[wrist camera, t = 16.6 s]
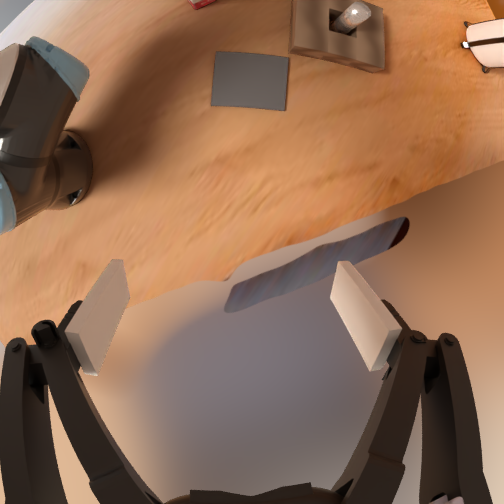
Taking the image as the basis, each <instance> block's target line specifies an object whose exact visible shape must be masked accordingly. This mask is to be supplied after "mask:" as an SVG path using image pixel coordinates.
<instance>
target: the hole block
mask: <svg viewBox="0 0 504 504" xmlns="http://www.w3.org/2000/svg"><path fill="white" fill-rule="evenodd" d="M354 2H361V3H363V4H365V5H366V6H368V8H369V9H370V11H371V16H370V17H369V18H368V19H366V20H365V21H363V22H362V23H361V24H359V25H358V26H357V27H355V28H354V29H353V30H351V31H350V32H349V33H347V35H344V34H341V33H337V32H333V31H329V19H330V20H334V21H335V20H336V19H337V18H338V17H339V16H340V15H341V14H342V13H343V12H344V11H345V10H346V9H347V8H348V7H350V6H351V5H352V4H353V3H354ZM289 54H295V55H301V56H307V57H312V58H317V59H322V60H326V61H330V62H335V63H339V64H343V65H346V66H350V67H354V68H357V69H361V70H364V71H367V72H370V73H374V72H377V71H380V70H383V69H384V67H385V49H384V21H383V8H380V7H378V6H375V5H373V4H370V3H367V2H364V1H362V0H292V6H291V23H290V39H289Z"/></svg>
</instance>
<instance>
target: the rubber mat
mask: <svg viewBox="0 0 504 504" xmlns="http://www.w3.org/2000/svg"><path fill="white" fill-rule="evenodd" d="M288 59H289V58H288V57H281V56H273V55H264V54H254V53H241V52H216V57H215V67H214V76H213V87H212V98H211V106H230V107H247V108H259V109H270V110H279V111H284V110H285V98H286V86H287V73H288Z"/></svg>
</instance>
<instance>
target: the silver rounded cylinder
mask: <svg viewBox="0 0 504 504" xmlns="http://www.w3.org/2000/svg"><path fill="white" fill-rule="evenodd" d="M370 16H371V11H370V9H369V8H368V6H366V5H365V4H363V3H361V2H354V3H353V4H352V5H351V6H350V7H348V8H347V9H346V10H345V11H344V12H343V13H342V14H341V15H340V16H339V17H338V18H337V19H336V20H335V21H334V22H333V23H332V24H331V25H330V26H329V31H333V32H337V33H341V34H344V35H346V34H347V33H349V32H350V31H351V30H353V29H354V28H355V27H357V26H358V25H359V24H361V23H362V22H363V21H365V20H366V19H368V18H369V17H370Z"/></svg>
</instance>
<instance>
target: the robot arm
mask: <svg viewBox="0 0 504 504" xmlns="http://www.w3.org/2000/svg"><path fill="white" fill-rule="evenodd" d="M88 79H89V69H88V67H87V66H86V65H85V64H84V63H82V62H81V61H80V60H78V59H77V58H75V57H74V56H72V55H71V54H69V53H67V52H66V51H64V50H62V49H60V48H59V47H57V46H54V45H53V44H51V43H49V42H47V41H45V40H43V39H41V38H38V37H31V38H30V39H29V40H28V41H27V42H26V44H25V46H24V45H20V44H17V43H14V44H12V45H10V46H8V47H7V48H5V49H3V50H2V51H0V235H1V234H3V233H5V232H8V231H11V230H13V229H14V228H15V227H17V226H18V225H20V224H22V223H23V222H25V221H26V220H28V219H30V218H31V217H33V216H35V215H36V214H38V213H40V212H42V211H43V210H63V209H66V208H69V207H71V206H72V205H74V204H76V203H77V202H79V201H80V200H81V199H82V198H83V196H84V195H85V194H86V192H87V190H88V188H89V185H90V182H91V178H92V168H93V167H92V158H91V154H90V151H89V148H88V146H87V144H86V143H85V141H84V140H83V139H82V138H81V137H80V136H79V135H77V134H75V133H73V132H70V131H63V129H64V127H65V125H66V123H67V120H68V118H69V116H70V114H71V112H72V110H73V108H74V106H75V104H76V102H78V101H79V100H80V95H81V93H82V91H83V89H84V87H85V85H86V83H87V81H88ZM129 299H130V294H129V289H128V284H127V279H126V273H125V268H124V262H123V260H120V259H112V260H111V261H110V263H109V264H108V266H107V267H106V268H105V270H104V271H103V273H102V274H101V275H100V277H99V278H98V280H97V281H96V283H95V284H94V286H93V287H92V289H91V290H90V291H89V293H88V294H87V296H86V298H85V299H84V301H80V300H78V301H77V302H76V303H74V304H73V305H72V306H71V307H70V309H69V310H68V313H66V315H65V316H64V318H63V320H62V321H61V323H60V324H59V326H58V327H57V328H56V325H55V323H54V322H53V321H51V320H43V321H40V322H38V323H37V324H35V325H34V326H33V328H32V331H31V334H32V336H33V338H34V340H35V342H36V345H27V343H26V341H25V340H24V339H23V338H14V339H12V340H11V341H10V342H9V343H8V344H7V346H6V349H5V355H4V361H3V368H2V376H1V385H0V465H1V473H2V481H3V486H4V493H5V504H68V502H67V499H66V496H65V492H64V489H63V485H62V481H61V477H60V474H59V469H58V464H57V460H56V455H55V449H54V443H53V437H52V429H51V421H50V413H49V412H50V411H49V399H48V385H49V389H50V392H51V395H52V397H53V400H54V403H55V406H56V408H57V411H58V414H59V417H60V419H61V421H62V424H63V426H64V429H65V431H66V433H67V435H68V438H69V440H70V442H71V444H72V447H73V448H74V451H75V453H76V455H77V457H78V459H79V461H80V462H81V464H82V466H83V468H84V470H85V472H86V473H87V475H88V477H89V479H90V482H89V485H90V488H91V490H92V492H93V493H94V495H95V496H96V498H97V500H98V501H99V503H100V504H163V503H162V502H161V500H160V499H159V498H158V497H157V496H156V495H155V494H154V493H153V492H152V491H151V490H150V488H149V487H148V486H147V485H146V484H145V482H144V481H143V480H142V479H141V477H140V476H139V475H138V474H137V472H136V471H135V470H134V468H133V467H132V465H131V464H130V463H129V461H128V460H127V458H126V457H125V455H124V454H123V453H122V451H121V449H120V448H119V446H118V445H117V443H116V442H115V440H114V438H113V437H112V435H111V434H110V432H109V430H108V429H107V427H106V425H105V423H104V422H103V420H102V419H101V416H100V415H99V413H98V411H97V409H96V407H95V405H94V403H93V401H92V399H91V397H90V396H89V393H88V391H87V390H86V387H85V385H84V383H83V381H82V379H81V376H80V374H79V373H78V371H79V369H80V366H81V367H82V369H83V371H84V373H85V374H89V375H95V376H98V375H99V372H100V369H101V366H102V364H103V361H104V358H105V356H106V353H107V351H108V348H109V346H110V343H111V341H112V338H113V336H114V334H115V331H116V329H117V327H118V324H119V322H120V319H121V317H122V315H123V313H124V310H125V308H126V306H127V304H128V302H129ZM330 299H331V300H332V302H333V304H334V306H335V308H336V309H337V311H338V313H339V315H340V316H341V318H342V320H343V322H344V324H345V325H346V327H347V329H348V331H349V333H350V335H351V336H352V338H353V340H354V342H355V344H356V346H357V348H358V349H359V352H360V353H361V355H362V357H363V359H364V361H365V363H366V365H367V367H368V369H369V371H373V370H379V369H382V368H383V366H384V364H385V363H386V361H387V362H388V364H389V368H388V370H387V371H386V373H385V375H384V377H383V379H382V380H384V381H383V384H382V387H381V390H380V392H379V395H378V398H377V401H376V403H375V406H374V408H373V411H372V413H371V416H370V418H369V420H368V423H367V425H366V427H365V430H364V432H363V434H362V436H361V439H360V441H359V443H358V445H357V447H356V449H355V451H354V453H353V455H352V457H351V459H350V461H349V463H348V465H347V467H346V469H345V470H344V472H343V474H342V476H341V477H340V479H339V480H338V481H337V482H336V483H335V485H334V486H333V488H332V489H331V491H330V490H327V489H323V488H317V487H311V483H310V482H309V483H304V484H298V485H292V486H285V487H280V488H278V489H274V490H271V491H269V492H265V493H262V494H259V495H255V496H246V495H240V494H234V493H228V492H223V491H204V490H202V491H201V490H190V494H189V495H184V496H180V497H177V498H175V499H172V500H170V501H168V502H166V503H165V504H392V502H393V500H394V497H395V495H396V493H397V490H398V488H399V485H400V483H401V480H402V477H403V475H404V471H405V465H404V464H402V460H403V457H404V454H405V451H406V448H407V445H408V442H409V438H410V435H411V431H412V427H413V424H414V420H415V416H416V412H417V407H418V403H419V398H420V394H421V406H422V465H421V479H420V493H419V503H420V504H493V503H492V499H491V496H490V492H489V489H488V486H487V483H486V479H485V476H484V473H483V465H482V450H481V440H480V432H479V425H478V419H477V412H476V407H475V402H474V397H473V392H472V387H471V383H470V379H469V375H468V372H467V367H466V364H465V360H464V357H463V353H462V350H461V347H460V344H459V341H458V340H457V338H456V337H455V336H454V335H452V334H449V333H442V334H441V335H440V336H439V338H438V340H428V339H427V337H426V336H425V335H424V334H423V333H421V332H419V331H415V330H411V329H410V328H409V326H408V325H407V324H406V322H405V321H404V320H403V319H402V318H401V316H399V313H398V312H397V311H396V310H395V308H394V307H393V306H392V305H391V304H390V303H388V302H387V301H386V300H380V299H379V297H378V296H377V295H376V294H375V292H374V291H373V290H372V289H371V287H370V286H369V285H368V284H367V282H366V281H365V280H364V279H363V277H362V276H361V275H360V274H359V272H358V271H357V270H356V269H355V268H354V266H353V265H352V264H351V263H350V262H349V261H338V265H337V270H336V274H335V279H334V283H333V287H332V291H331V296H330Z"/></svg>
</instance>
